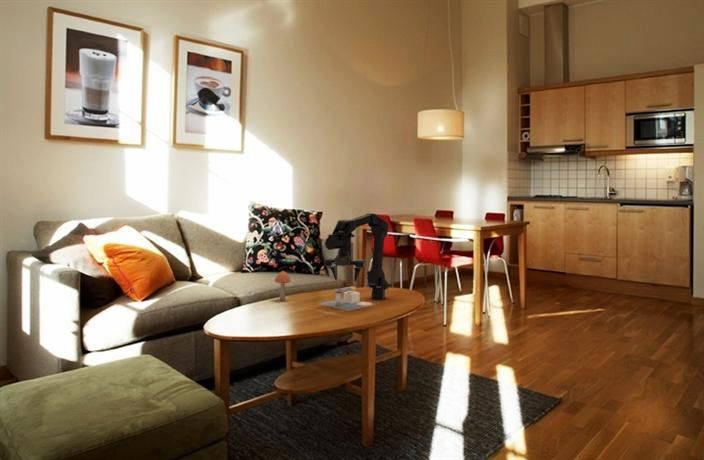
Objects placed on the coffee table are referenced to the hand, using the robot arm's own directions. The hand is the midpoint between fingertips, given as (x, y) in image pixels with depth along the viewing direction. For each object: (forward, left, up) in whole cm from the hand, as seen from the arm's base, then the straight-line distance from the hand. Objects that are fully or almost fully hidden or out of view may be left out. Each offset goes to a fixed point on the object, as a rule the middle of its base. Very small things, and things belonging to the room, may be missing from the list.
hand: (345, 281), depth 234 cm
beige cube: (-8, -4, -12) cm, 15 cm away
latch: (-3, -4, -6) cm, 8 cm away
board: (-4, -3, -13) cm, 14 cm away
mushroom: (+10, -34, -13) cm, 38 cm away
